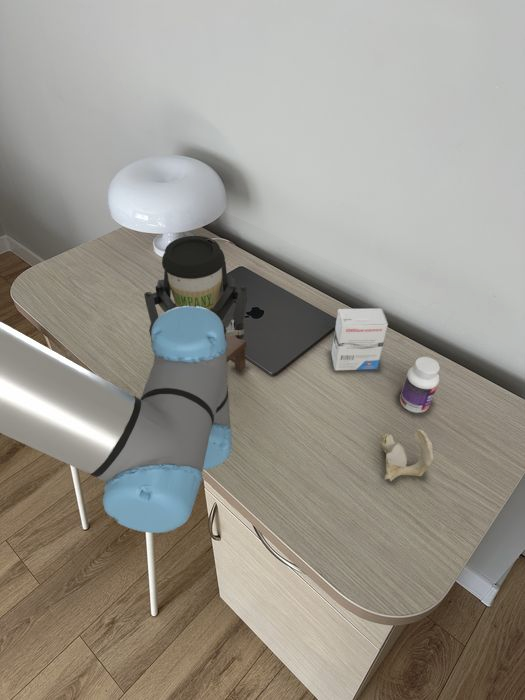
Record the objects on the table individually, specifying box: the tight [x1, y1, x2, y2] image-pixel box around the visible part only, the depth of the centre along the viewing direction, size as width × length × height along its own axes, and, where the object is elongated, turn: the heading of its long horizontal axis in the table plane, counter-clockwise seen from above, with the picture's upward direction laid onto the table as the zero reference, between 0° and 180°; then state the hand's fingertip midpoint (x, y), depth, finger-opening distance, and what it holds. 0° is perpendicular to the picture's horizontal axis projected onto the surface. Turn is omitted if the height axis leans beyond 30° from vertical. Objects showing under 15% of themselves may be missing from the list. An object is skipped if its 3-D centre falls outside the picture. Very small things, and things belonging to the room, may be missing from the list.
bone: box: [380, 428, 435, 482], centre depth 76 cm, size 9×6×10 cm
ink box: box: [331, 308, 389, 371], centre depth 92 cm, size 8×5×12 cm, turn 93°
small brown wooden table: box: [226, 336, 247, 373], centre depth 92 cm, size 12×12×7 cm
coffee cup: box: [161, 235, 226, 310], centre depth 80 cm, size 10×10×15 cm
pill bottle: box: [399, 356, 440, 414], centre depth 86 cm, size 5×5×10 cm
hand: (195, 269), depth 83 cm, fingers closed on coffee cup, 9 cm apart
